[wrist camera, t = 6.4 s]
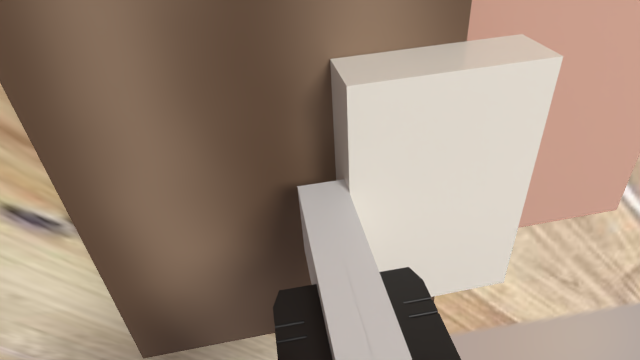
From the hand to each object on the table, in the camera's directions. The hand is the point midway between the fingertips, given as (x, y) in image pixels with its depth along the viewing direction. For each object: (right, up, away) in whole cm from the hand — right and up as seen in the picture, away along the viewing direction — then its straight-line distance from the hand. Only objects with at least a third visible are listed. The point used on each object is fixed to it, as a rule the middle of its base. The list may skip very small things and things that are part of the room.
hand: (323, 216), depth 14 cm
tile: (+3, +2, +1) cm, 4 cm away
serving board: (-2, +3, +4) cm, 6 cm away
